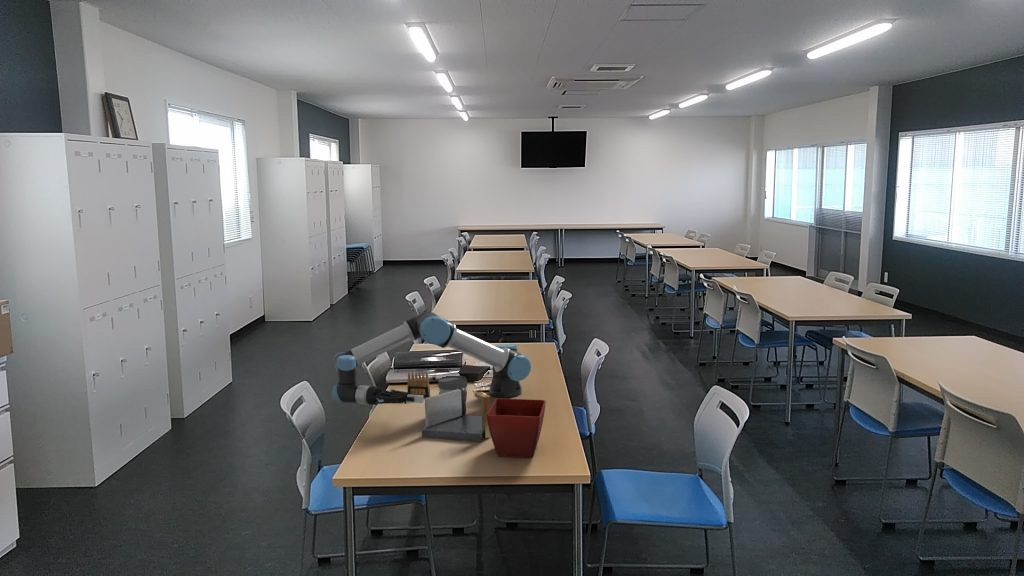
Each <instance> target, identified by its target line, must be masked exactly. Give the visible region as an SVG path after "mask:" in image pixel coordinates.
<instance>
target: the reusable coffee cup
mask: <svg viewBox="0 0 1024 576" xmlns="http://www.w3.org/2000/svg"><path fill="white" fill-rule="evenodd" d="M437 387H438V390H439V393H438V395H439V394H442V393H446V392H450V391H453V390H457V389H459V388H465V393H466V399H467V397H468V396H467V395H468V391H467V387H468V382H467V379H466V377H463V376H446V377H442V378H440V379H439V380H437Z"/></svg>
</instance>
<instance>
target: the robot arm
mask: <svg viewBox="0 0 1024 576" xmlns="http://www.w3.org/2000/svg"><path fill="white" fill-rule="evenodd" d="M419 339H423V340H424V341H425V342H426V343H427V344H430V345H433V346H438V347H439V348H442V349H444V348H445V349H446V348H448V347H449V348H450V349H453V350H455V351H457V352H460V353H462V354H464V355H467V356H468V357H471V358H473V359H476V360H478V361H480V362H483V363H485V364H488V366H490V367H492V379H491V383H490V386H489V394H490V395H489V396H492V397H496V398H513V397H518V396H520V395H521V394H523V392H522V391H523V389H522V388H523V387H522V385H521V381H523V380H525V379H527V378H528V376H529V375H530V373H531V370H532V364H531V360H530V359H529V358H528V357H527V356H526V355H524V354H522V353H520V352H518V349H519V348H518V346H517V344H513V343H508V344H507V343H506V344H505V343H504V344H497V345H494V344H493V343H490V342H487V341H485V340H483V339H481V338H478V337H477V336H474V335H472V334H470V333H467V332H466V331H463V330H461V329H459V328H457V327H456V323H454V322H451V321H449V320H448V319H446V318H443V317H441V316H440V315H437V314H436V313H435V312H431V311H424V312H420V313H419V314H417V315H413V316H412V317H410V318H408V319H406V320H404V321H403V324H401V325H399V326H397V327H395V328H392V329H391V330H389V331H386V332H385V333H382V334H380V335H378V336H376V337H374V338H372V339H369V341H368V340H367V341H366V342H364V343H362V344H360V345H357V346H356V347H353V348H352V349H351V348H350V349H349V350H347V351H345V352H342V351H341V352H338V353H336V354H335V355H334V357H333V359H332V363H333V367H334V369H335V370H336V372H337V383H336V384H334V385H333V386H332V391H331V397H332V399H333V400H334V401H335V402H337V403H343V404H358V405H359V404H360V405H362V406H365V405H371V406H378V405H383V404H401V405H402V404H404V405H407V403H419V404H423V403H425V397H423V395H411V394H409V392H407V391H403V390H402V391H401V390H397V389H393V388H391V389H390V390H387V389H385V390H382V389H381V388H380V387H379V386H376V385H360V384H357V367H358V366H360V365H361V364H364V363H366V362H368V361H370V360H372V359H374V358H376V357H379V356H380V355H382V354H384V353H387V352H388V351H390V350H393V349H394V348H398V346H401V345H403V344H406V343H407V342H409V341H412V342H415V341H416V340H419Z"/></svg>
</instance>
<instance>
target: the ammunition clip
mask: <svg viewBox="0 0 1024 576" xmlns="http://www.w3.org/2000/svg"><path fill="white" fill-rule="evenodd" d="M406 390H407V391H406V392H409V394H411V395H423V398H426V397H427V398H428V397H431V391H430V380H429V374H428V372H426V373H425V372H424V371H422V373H421V371H418V372H417V371H415V373H414V371H412V372H410V371H408V372H407V389H406Z"/></svg>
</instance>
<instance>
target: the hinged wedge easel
mask: <svg viewBox="0 0 1024 576" xmlns="http://www.w3.org/2000/svg"><path fill="white" fill-rule="evenodd" d="M464 415H467V398H466V393H465V388H459V389H457V390H453V391H450V392H446V393H442V394H439V393H438V394H435V395H433V396H430V397H428V398H426V397H424V417H425V427H426V426H431V425H434V424H437V423H440V422H444V421H447V420H450V419H453V418H456V417H459V416H464Z"/></svg>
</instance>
